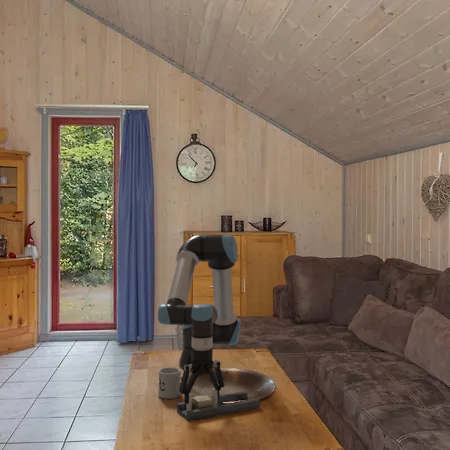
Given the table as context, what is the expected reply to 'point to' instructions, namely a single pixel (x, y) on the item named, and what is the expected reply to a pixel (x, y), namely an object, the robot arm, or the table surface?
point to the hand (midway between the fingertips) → (202, 409)
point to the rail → (220, 407)
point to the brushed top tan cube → (201, 402)
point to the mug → (169, 383)
